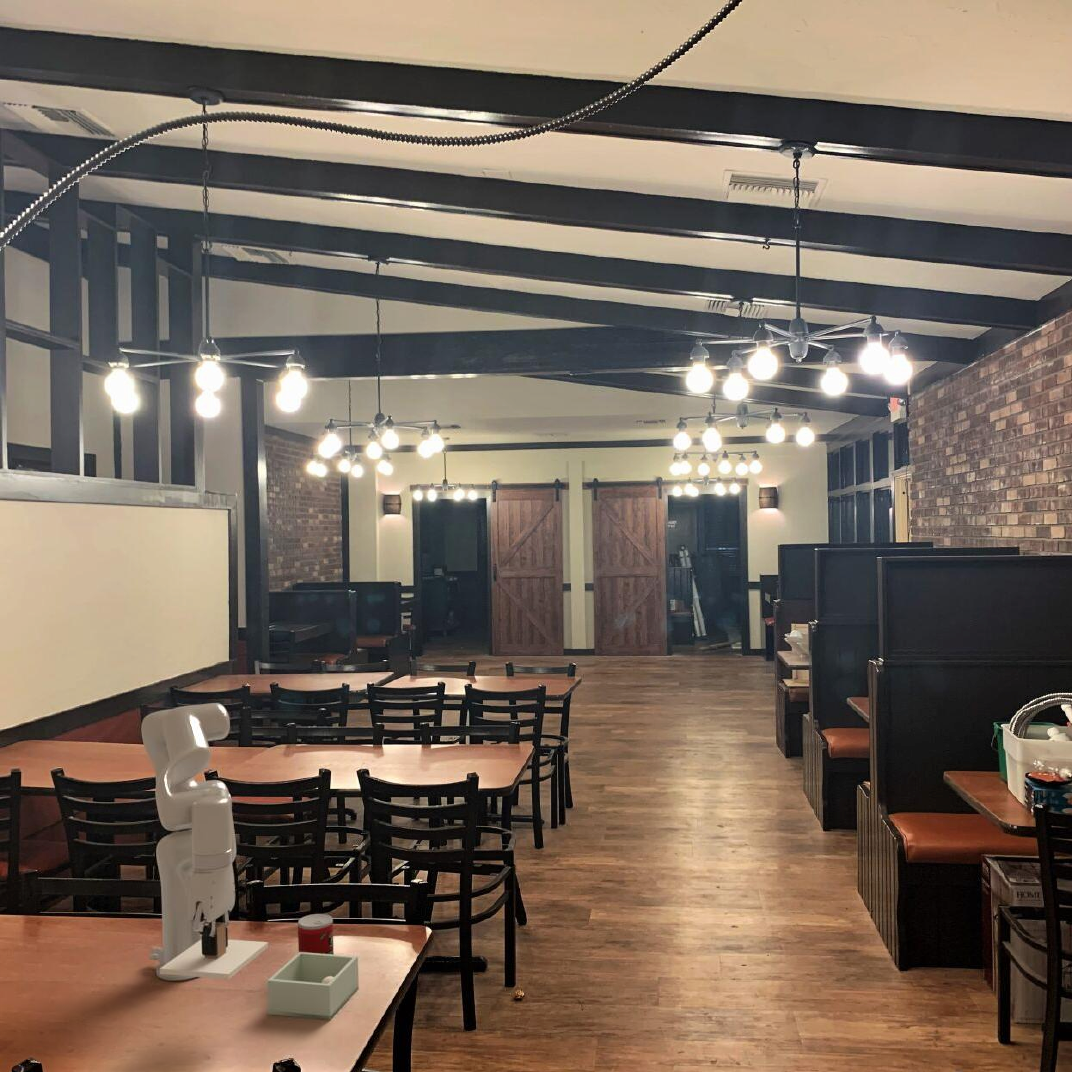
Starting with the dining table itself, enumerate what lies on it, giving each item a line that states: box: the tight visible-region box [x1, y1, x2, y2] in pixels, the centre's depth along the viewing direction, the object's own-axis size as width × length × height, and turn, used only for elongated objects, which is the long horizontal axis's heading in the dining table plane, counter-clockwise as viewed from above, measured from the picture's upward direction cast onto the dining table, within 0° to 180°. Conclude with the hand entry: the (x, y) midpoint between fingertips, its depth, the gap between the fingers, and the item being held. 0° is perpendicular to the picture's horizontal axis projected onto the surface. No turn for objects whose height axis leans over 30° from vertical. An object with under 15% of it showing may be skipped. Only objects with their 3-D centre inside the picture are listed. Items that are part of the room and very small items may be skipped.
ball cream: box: [322, 976, 334, 984], centre depth 206 cm, size 4×4×4 cm
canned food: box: [297, 913, 335, 955], centre depth 221 cm, size 8×8×11 cm
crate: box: [267, 951, 360, 1021], centre depth 204 cm, size 14×14×7 cm
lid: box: [160, 922, 269, 980], centre depth 193 cm, size 15×15×7 cm
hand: (215, 950), depth 193 cm, fingers closed on lid, 3 cm apart
